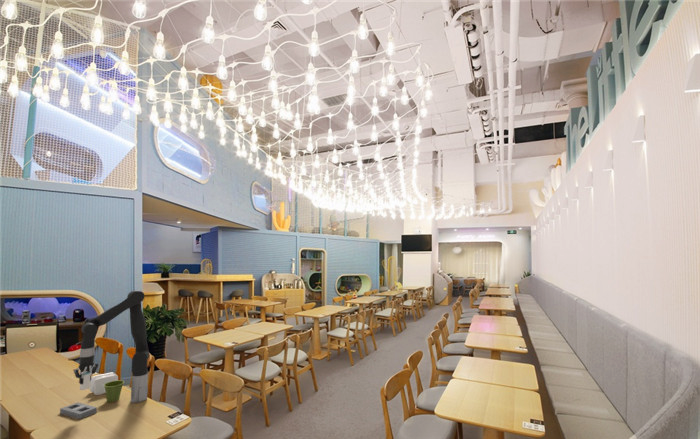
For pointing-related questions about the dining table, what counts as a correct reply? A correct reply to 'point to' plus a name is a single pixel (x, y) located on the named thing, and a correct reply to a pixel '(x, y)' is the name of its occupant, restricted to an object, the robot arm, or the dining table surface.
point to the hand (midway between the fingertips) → (85, 382)
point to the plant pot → (113, 390)
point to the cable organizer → (101, 382)
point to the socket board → (78, 410)
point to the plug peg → (85, 381)
